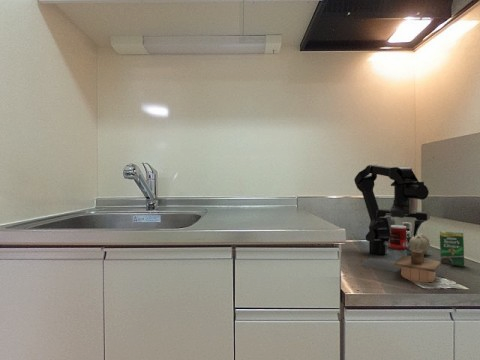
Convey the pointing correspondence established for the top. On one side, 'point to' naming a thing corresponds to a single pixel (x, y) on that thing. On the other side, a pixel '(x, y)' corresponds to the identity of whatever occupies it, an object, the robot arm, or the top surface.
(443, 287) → the top surface
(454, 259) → the coffee box
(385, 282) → the top surface
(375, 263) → the mat
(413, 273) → the bowl
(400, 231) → the canned food
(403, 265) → the lid
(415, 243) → the garlic bulb
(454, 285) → the top surface
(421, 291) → the top surface
